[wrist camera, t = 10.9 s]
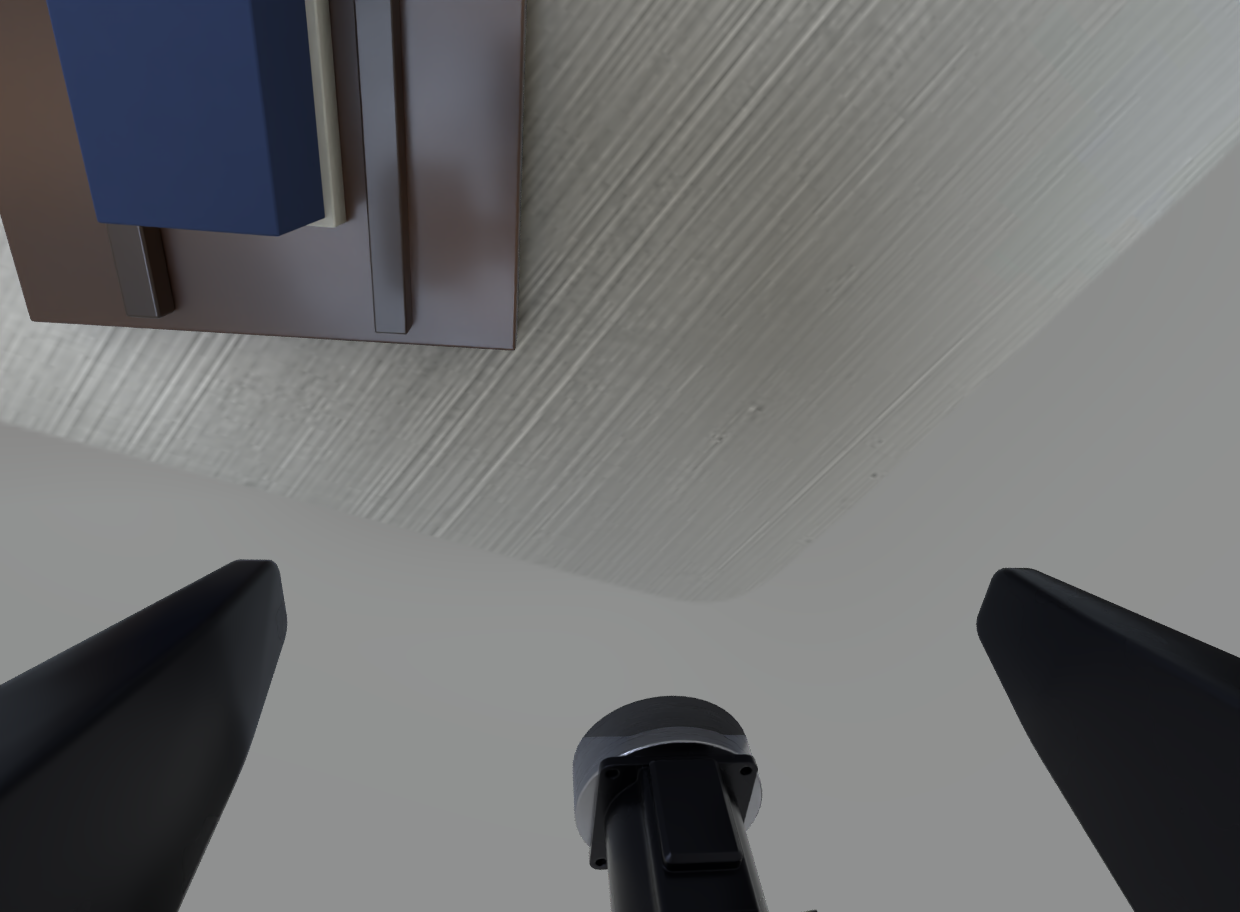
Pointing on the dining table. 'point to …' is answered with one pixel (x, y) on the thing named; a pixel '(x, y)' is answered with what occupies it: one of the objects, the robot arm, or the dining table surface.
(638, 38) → the dining table surface
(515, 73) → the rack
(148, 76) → the stepped navy block
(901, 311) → the dining table surface
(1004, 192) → the dining table surface
